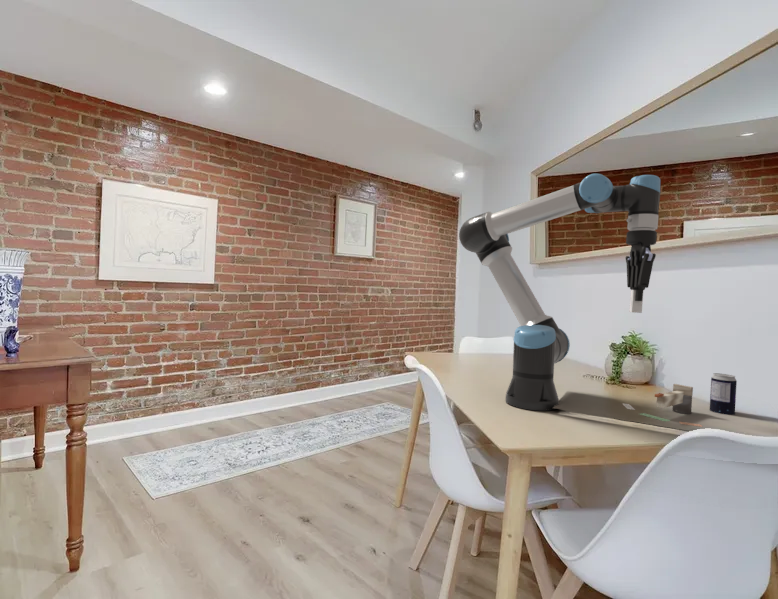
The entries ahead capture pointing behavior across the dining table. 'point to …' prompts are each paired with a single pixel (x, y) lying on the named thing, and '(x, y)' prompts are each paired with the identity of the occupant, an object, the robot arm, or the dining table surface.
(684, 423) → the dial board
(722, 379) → the beverage can
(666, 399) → the peg lever
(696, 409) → the dining table surface
